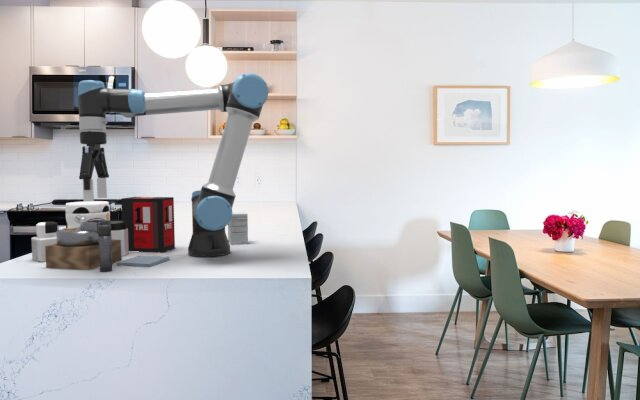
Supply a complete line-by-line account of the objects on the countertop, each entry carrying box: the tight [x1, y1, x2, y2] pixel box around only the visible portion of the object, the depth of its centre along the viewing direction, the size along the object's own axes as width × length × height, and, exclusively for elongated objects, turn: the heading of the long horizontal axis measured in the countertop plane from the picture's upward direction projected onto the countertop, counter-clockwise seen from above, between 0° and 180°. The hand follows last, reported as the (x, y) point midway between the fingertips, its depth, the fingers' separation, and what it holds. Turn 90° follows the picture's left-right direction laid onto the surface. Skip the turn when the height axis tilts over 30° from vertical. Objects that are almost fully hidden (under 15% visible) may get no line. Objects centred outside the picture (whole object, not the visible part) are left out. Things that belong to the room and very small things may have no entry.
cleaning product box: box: [120, 196, 176, 254], centre depth 189 cm, size 16×9×20 cm, turn 80°
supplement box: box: [227, 211, 249, 246], centre depth 205 cm, size 7×7×13 cm
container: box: [30, 221, 59, 263], centre depth 172 cm, size 8×8×13 cm
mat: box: [116, 255, 171, 268], centre depth 166 cm, size 12×12×1 cm
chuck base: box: [45, 240, 122, 271], centre depth 164 cm, size 16×16×7 cm
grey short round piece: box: [56, 217, 111, 246], centre depth 164 cm, size 16×16×8 cm
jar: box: [110, 220, 130, 257], centre depth 180 cm, size 9×8×12 cm
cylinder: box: [98, 225, 113, 273], centre depth 153 cm, size 4×4×14 cm
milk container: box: [64, 200, 111, 228], centre depth 193 cm, size 17×17×18 cm
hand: (95, 199), depth 157 cm, fingers open, 13 cm apart
